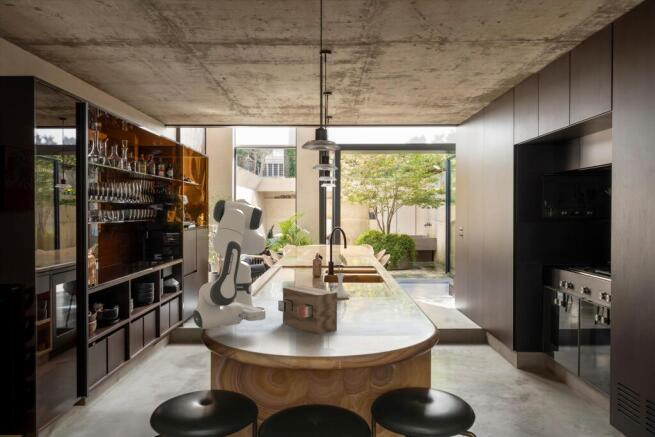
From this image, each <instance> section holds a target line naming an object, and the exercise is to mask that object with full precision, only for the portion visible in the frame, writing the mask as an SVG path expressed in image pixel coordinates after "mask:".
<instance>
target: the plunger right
mask: <svg viewBox="0 0 655 437" xmlns="http://www.w3.org/2000/svg"><path fill="white" fill-rule="evenodd" d="M298 316H299V317H303V318H305V317H309V316H313V305H302V306H298Z"/></svg>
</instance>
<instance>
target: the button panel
mask: <svg viewBox="0 0 655 437" xmlns="http://www.w3.org/2000/svg"><path fill="white" fill-rule="evenodd" d="M283 300H293V310H292V311H286V312H282V324H283V325H286V326H289V327H293V328H295V329H300V330H301V331H306V332H308V333H310V334H315V335H320V334H324V333H330V332H335V331H337V330H338V298H337V292H333V291H332V290H326V289H323V288H317V287H312V286H307V285H295V286H286V287H283V288H282V301H283ZM302 305H313V316H309V317H305V318H303V317H299V316H298V306H302Z"/></svg>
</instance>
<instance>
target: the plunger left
mask: <svg viewBox="0 0 655 437" xmlns="http://www.w3.org/2000/svg"><path fill="white" fill-rule="evenodd" d="M277 306H278V308H277V309H278V311H279V312H282V313H283V312H286V311H292V310H293V300H283V299H282V300H278V305H277Z"/></svg>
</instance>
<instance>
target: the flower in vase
mask: <svg viewBox="0 0 655 437" xmlns="http://www.w3.org/2000/svg"><path fill="white" fill-rule="evenodd" d="M338 257H339V260H340V263H339V264H338V265H339V266H338V267H337V269H338V272H339V273H336V276H337V279H338V282H337V283H338V285H337V288H335V289H334V290H333V291H332V292H337V299H339V300H340V299H341V300H342V299H348V298H350V297H351V294H350V293H349V291H348V290H346V289H345V287H344V286H343V279H344V277H345V273H341V272H342V271H343V270H344V268H340V266H341V264H343V265H344V266H346V267H347V266H348V261H347V260H346V257H344V255H343V254H341V253H339V255H338Z"/></svg>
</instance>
